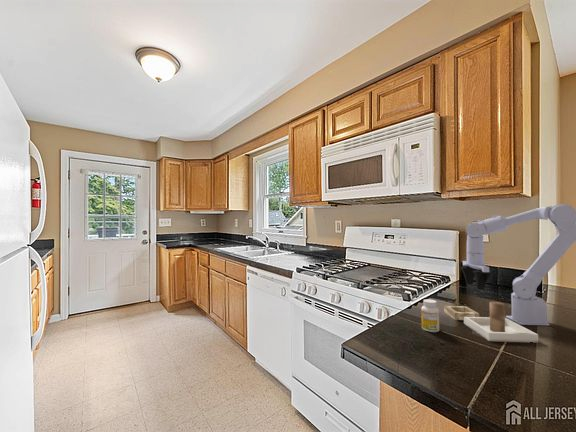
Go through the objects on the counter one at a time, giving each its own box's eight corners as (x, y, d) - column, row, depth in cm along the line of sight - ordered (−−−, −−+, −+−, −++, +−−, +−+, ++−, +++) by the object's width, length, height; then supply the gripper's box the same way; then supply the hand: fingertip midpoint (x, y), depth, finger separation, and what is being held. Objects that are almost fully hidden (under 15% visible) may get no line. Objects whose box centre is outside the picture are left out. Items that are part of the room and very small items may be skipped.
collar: (466, 312, 109) (466, 306, 109) (479, 320, 101) (479, 313, 101) (444, 312, 110) (444, 305, 110) (454, 319, 101) (454, 313, 101)
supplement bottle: (427, 325, 97) (426, 297, 97) (442, 330, 92) (442, 301, 92) (418, 328, 94) (418, 300, 94) (434, 333, 89) (433, 304, 89)
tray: (505, 324, 96) (505, 317, 96) (538, 342, 82) (538, 334, 82) (464, 323, 98) (463, 316, 98) (488, 341, 84) (488, 332, 84)
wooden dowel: (500, 328, 92) (499, 301, 92) (508, 333, 88) (507, 305, 88) (487, 328, 92) (486, 301, 92) (494, 332, 88) (494, 304, 89)
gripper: (455, 250, 116) (455, 282, 116) (475, 255, 102) (474, 291, 102) (472, 250, 116) (472, 282, 116) (495, 255, 101) (495, 291, 101)
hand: (474, 286), depth 109 cm, fingers open, 7 cm apart
